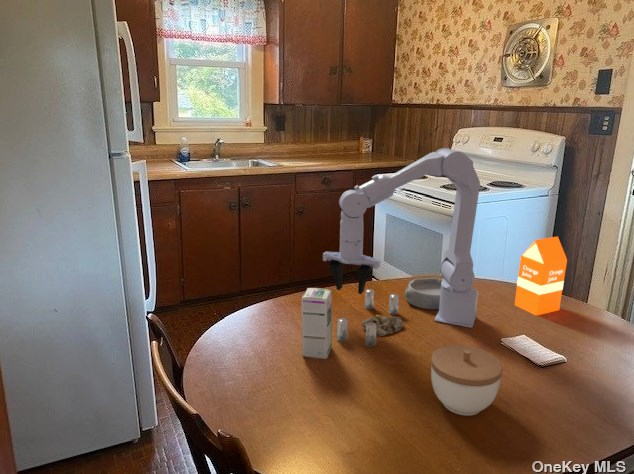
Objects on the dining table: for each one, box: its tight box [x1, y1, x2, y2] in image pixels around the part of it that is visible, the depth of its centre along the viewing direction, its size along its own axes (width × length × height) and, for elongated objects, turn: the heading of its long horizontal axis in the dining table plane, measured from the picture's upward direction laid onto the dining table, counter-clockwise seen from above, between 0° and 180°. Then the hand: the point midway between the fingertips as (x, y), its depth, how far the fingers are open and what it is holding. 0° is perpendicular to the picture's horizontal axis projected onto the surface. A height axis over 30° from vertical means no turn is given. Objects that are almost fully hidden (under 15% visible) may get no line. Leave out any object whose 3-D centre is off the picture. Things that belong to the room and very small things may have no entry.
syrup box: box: [300, 287, 333, 360], centre depth 108 cm, size 6×6×14 cm
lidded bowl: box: [430, 344, 503, 417], centre depth 90 cm, size 13×13×11 cm
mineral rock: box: [361, 314, 404, 337], centre depth 121 cm, size 11×4×8 cm
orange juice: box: [514, 236, 568, 316], centre depth 131 cm, size 8×9×20 cm
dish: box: [404, 277, 443, 310], centre depth 138 cm, size 14×14×5 cm
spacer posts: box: [336, 288, 400, 348], centre depth 123 cm, size 9×22×5 cm, turn 155°
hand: (350, 290), depth 123 cm, fingers open, 5 cm apart
